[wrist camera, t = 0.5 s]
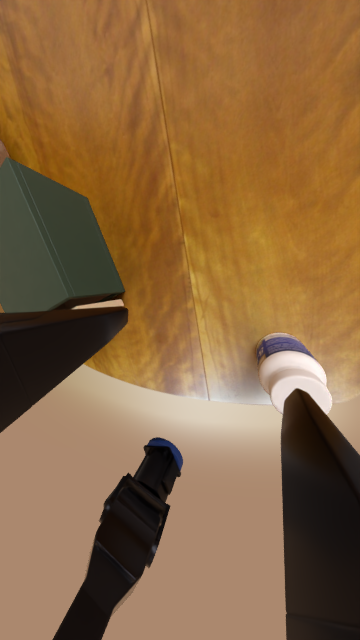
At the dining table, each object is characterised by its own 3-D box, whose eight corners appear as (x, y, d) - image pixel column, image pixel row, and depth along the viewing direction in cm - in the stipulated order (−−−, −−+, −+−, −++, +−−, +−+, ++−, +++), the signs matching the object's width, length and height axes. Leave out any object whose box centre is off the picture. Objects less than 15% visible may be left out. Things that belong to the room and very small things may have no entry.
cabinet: (125, 291, 27) (68, 297, 18) (74, 317, 33) (13, 330, 24) (87, 197, 26) (6, 156, 17) (41, 242, 32) (-36, 229, 23)
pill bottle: (251, 336, 21) (254, 370, 13) (298, 327, 19) (337, 363, 11) (261, 373, 22) (269, 427, 14) (308, 369, 20) (351, 431, 12)
